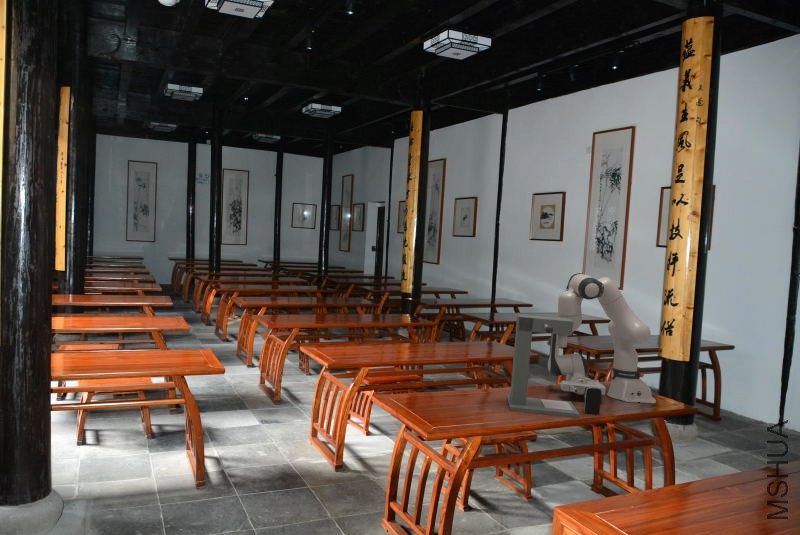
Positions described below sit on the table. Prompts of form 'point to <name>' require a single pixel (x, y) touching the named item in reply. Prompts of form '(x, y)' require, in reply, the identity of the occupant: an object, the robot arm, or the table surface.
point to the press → (522, 360)
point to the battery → (592, 400)
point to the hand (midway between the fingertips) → (585, 391)
